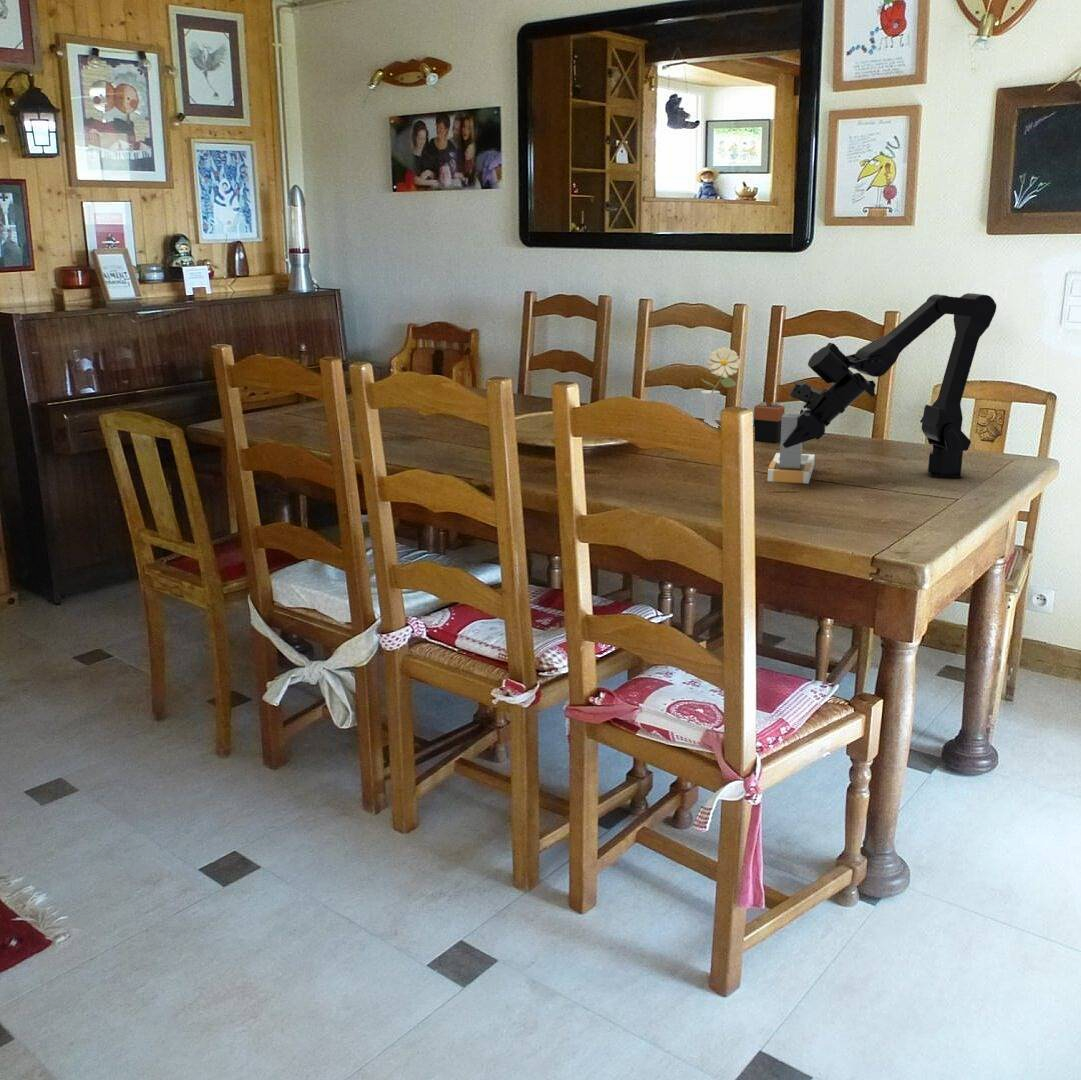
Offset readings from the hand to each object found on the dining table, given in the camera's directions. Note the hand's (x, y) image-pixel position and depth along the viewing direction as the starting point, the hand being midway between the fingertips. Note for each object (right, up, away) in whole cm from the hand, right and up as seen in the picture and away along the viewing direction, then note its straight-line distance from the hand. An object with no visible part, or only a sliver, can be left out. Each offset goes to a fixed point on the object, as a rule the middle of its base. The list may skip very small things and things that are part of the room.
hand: (785, 444), depth 236 cm
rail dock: (+3, -6, +6) cm, 9 cm away
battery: (+5, +4, +42) cm, 42 cm away
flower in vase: (-10, +3, +36) cm, 38 cm away
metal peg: (+1, -6, +1) cm, 7 cm away
